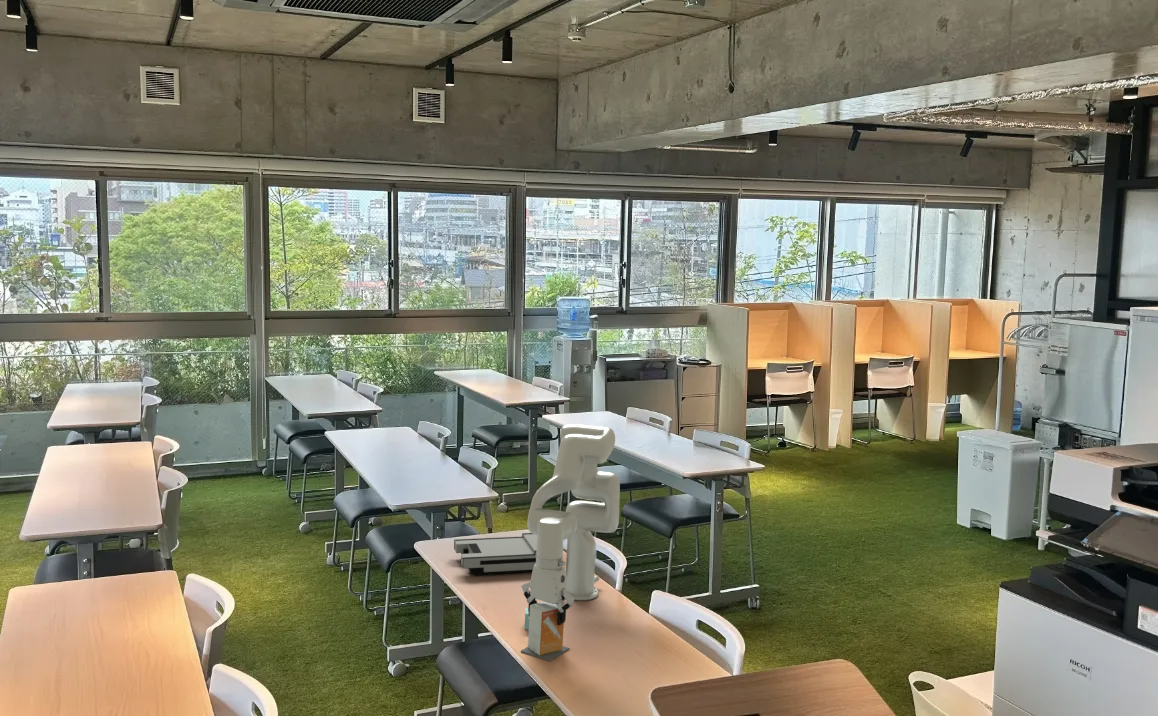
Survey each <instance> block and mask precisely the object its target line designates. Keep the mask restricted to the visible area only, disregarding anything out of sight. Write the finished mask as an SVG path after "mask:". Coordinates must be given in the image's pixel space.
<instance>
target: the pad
mask: <svg viewBox="0 0 1158 716" xmlns="http://www.w3.org/2000/svg"><path fill="white" fill-rule="evenodd" d="M569 650H570V647H568V646H564V645H562V650H559V651H555V652H551V653H547V654H543V655H538V654H536V653H535V652H533V651H532V650H531V649H529V648H528V646H526V647H525V648H523V649H521V650H520V653H523V654H525V655H529V656H531V657H534V658H538V659H541V660H545V661H547V662H552V661H553V660H555V659H556V658H558V657H560V656H562V654H564V653H566V652H567V651H569Z"/></svg>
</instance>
